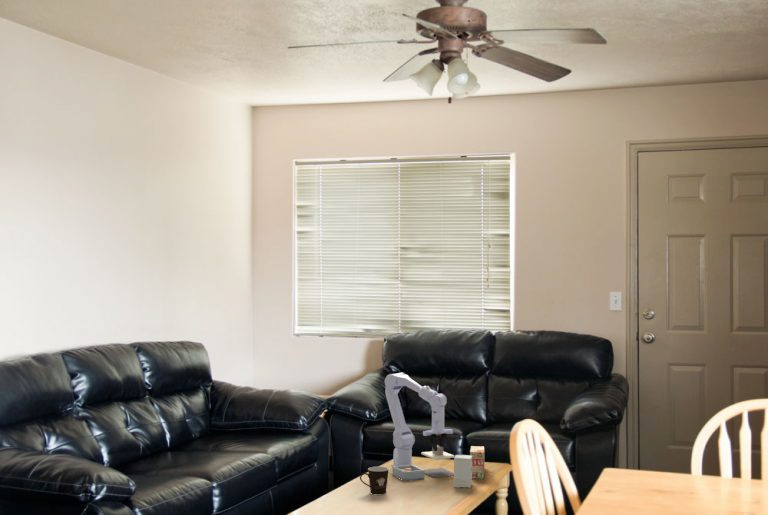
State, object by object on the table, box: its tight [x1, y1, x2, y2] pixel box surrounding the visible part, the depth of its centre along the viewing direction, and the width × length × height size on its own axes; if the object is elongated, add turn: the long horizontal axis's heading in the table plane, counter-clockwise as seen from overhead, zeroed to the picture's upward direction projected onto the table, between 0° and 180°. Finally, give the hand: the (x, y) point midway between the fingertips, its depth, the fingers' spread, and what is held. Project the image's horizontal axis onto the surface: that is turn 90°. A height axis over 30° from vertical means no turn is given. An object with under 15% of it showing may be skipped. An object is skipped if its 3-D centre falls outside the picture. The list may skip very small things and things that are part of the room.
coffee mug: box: [359, 466, 390, 495], centre depth 372 cm, size 12×9×10 cm
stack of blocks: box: [469, 445, 485, 479], centre depth 409 cm, size 21×6×12 cm, turn 173°
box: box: [392, 464, 425, 482], centre depth 400 cm, size 12×10×4 cm
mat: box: [423, 467, 454, 478], centre depth 408 cm, size 14×12×1 cm
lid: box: [420, 444, 456, 461], centre depth 409 cm, size 13×11×5 cm
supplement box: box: [453, 454, 473, 488], centre depth 385 cm, size 7×7×13 cm
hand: (437, 450), depth 409 cm, fingers closed on lid, 2 cm apart
